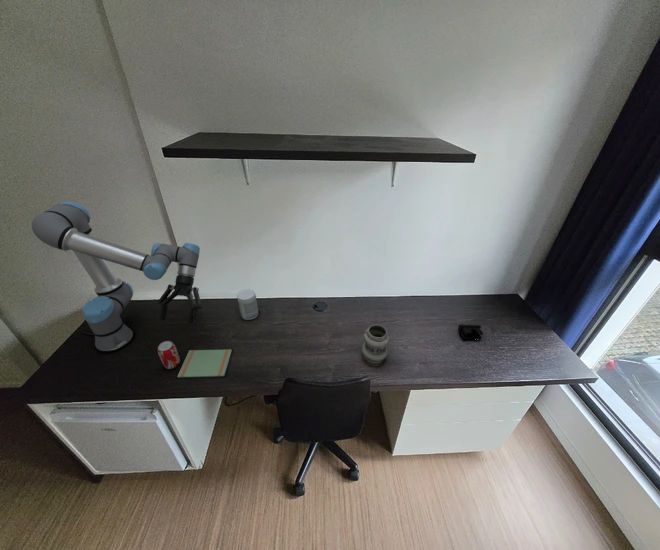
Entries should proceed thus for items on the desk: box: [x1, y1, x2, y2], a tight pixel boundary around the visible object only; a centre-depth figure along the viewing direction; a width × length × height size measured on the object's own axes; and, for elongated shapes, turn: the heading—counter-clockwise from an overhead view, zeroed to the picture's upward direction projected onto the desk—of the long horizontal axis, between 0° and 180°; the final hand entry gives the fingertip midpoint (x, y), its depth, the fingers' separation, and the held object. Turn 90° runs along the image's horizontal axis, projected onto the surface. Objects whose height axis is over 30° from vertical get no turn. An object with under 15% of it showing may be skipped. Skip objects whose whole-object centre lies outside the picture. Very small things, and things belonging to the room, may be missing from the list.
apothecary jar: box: [361, 324, 391, 367], centre depth 134 cm, size 12×12×18 cm
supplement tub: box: [236, 288, 259, 321], centre depth 157 cm, size 10×10×15 cm
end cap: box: [457, 323, 484, 342], centre depth 151 cm, size 10×7×7 cm
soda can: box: [157, 340, 181, 370], centre depth 129 cm, size 7×7×12 cm
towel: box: [176, 348, 233, 379], centre depth 133 cm, size 20×15×1 cm
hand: (176, 321), depth 132 cm, fingers open, 13 cm apart
